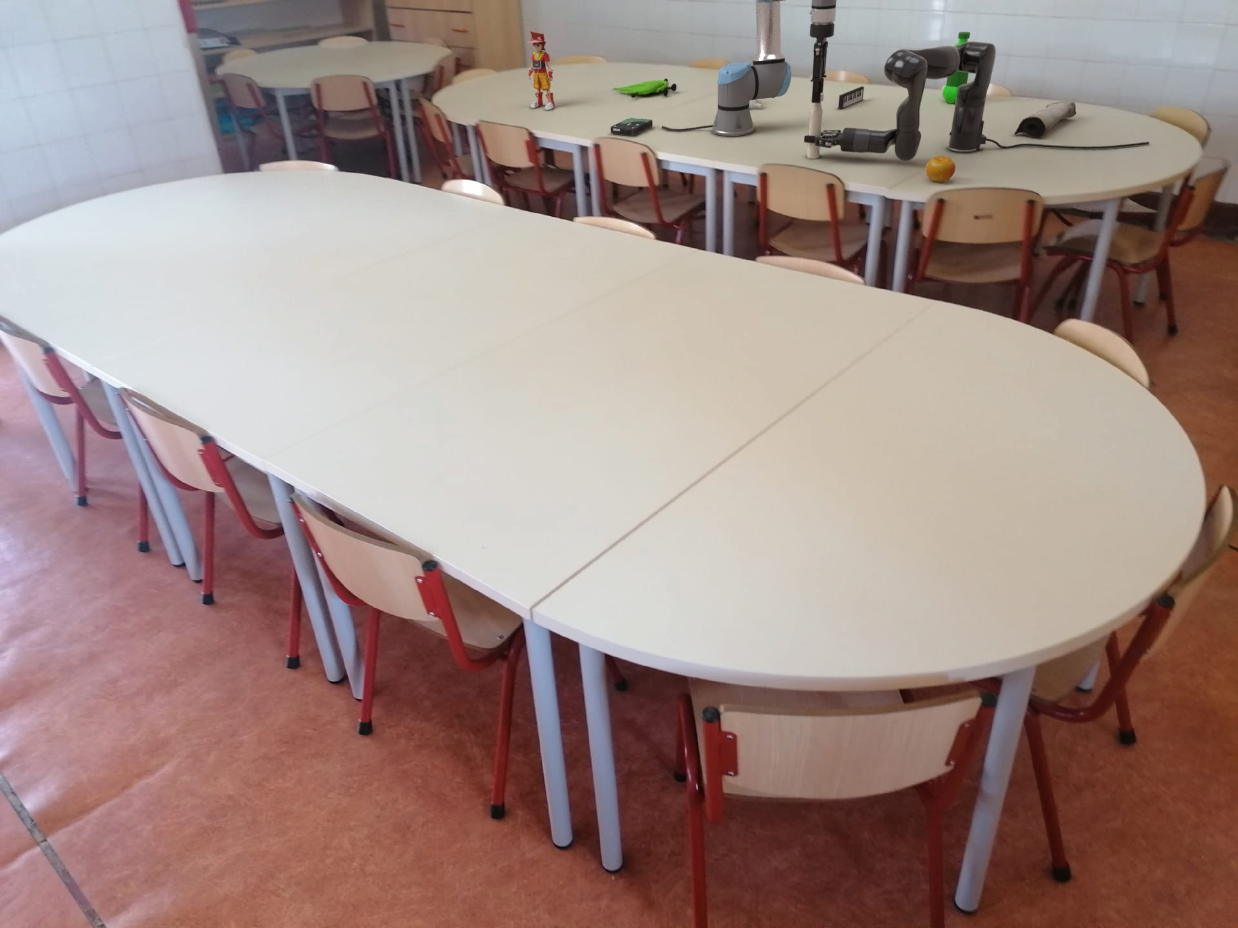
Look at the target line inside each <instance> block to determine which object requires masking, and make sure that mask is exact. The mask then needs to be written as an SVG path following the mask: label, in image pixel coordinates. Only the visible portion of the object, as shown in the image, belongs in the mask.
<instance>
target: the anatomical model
mask: <svg viewBox="0 0 1238 928" xmlns="http://www.w3.org/2000/svg"><path fill="white" fill-rule="evenodd" d="M757 101H758V99H757V100H750V101H749V110H751V109H755V108H762V107H763V104H762V103H758V102H757Z"/></svg>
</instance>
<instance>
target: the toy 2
mask: <svg viewBox="0 0 1238 928" xmlns="http://www.w3.org/2000/svg"><path fill="white" fill-rule="evenodd" d="M669 85H670V83H669V79H668V78H664V79H663V80H649V81H644V82H640V83H634V84H629V85H627V86H621V87H613V88H612V89H613V90H616V91H619V92H623V93H627V94H628V93H629V94H631V95H630V96H631V98H632V99H634V98H636V96H637V95H650V94H652V93H654V94H658V93H662V95H663V96H665V97H667V96H668V95H669V90H671V91H672V92H676V91H677V84H676V83H672V84H671V86H669Z"/></svg>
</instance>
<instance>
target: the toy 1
mask: <svg viewBox="0 0 1238 928" xmlns="http://www.w3.org/2000/svg"><path fill="white" fill-rule="evenodd" d="M529 33H530V35H531V36H528V37H527V38H528V39H529V40H528V41H527V43H529V44H530V43H531V44H532V48H533V50H534V51H533V52H532V55H531V58H530V59H531V63H530V66H528V74H527V75H528V76H527V77H528V79H529V80H531V75H532V74H533V84H532V85H533V86H532V87H533V88H534V89H535V90H536V92H534V95H535V97H536V100H535V101H533V102H531V105H530V108H531V109H535V108H538V107H542V106H544V101H543V100H544V99H543V95H544V92H546V94H545V97H546V99H547V103H546V104H545V106H544V110H546V111H549V110H553V109H554V107H555V106H556V105H555V99H554V92H551V91H550V90H551V86H552V84H551V82H552V81H553V80H554V77H553V73H554V71H555V70H554V69H552V68H551V63H550V61H551V59H550V58H551V57H550V54H549V53H548V52H547V50H546V48H545V46H546V44H547V41H545V35H544V33H543V32H542V33H539V32H535V31H529Z"/></svg>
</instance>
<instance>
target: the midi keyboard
mask: <svg viewBox="0 0 1238 928" xmlns="http://www.w3.org/2000/svg"><path fill="white" fill-rule="evenodd" d="M864 91H865V86H862V85H861V86H859V87H857V88H854V89H851V90H849V91H846V92H844V93H842V94H839V96H838V105H837V106H838V107H837V109H839V110H842V109H844V108H846V107H848V106H851V105H852V104H855V103H858V102H859V101H863V100H864Z"/></svg>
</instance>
